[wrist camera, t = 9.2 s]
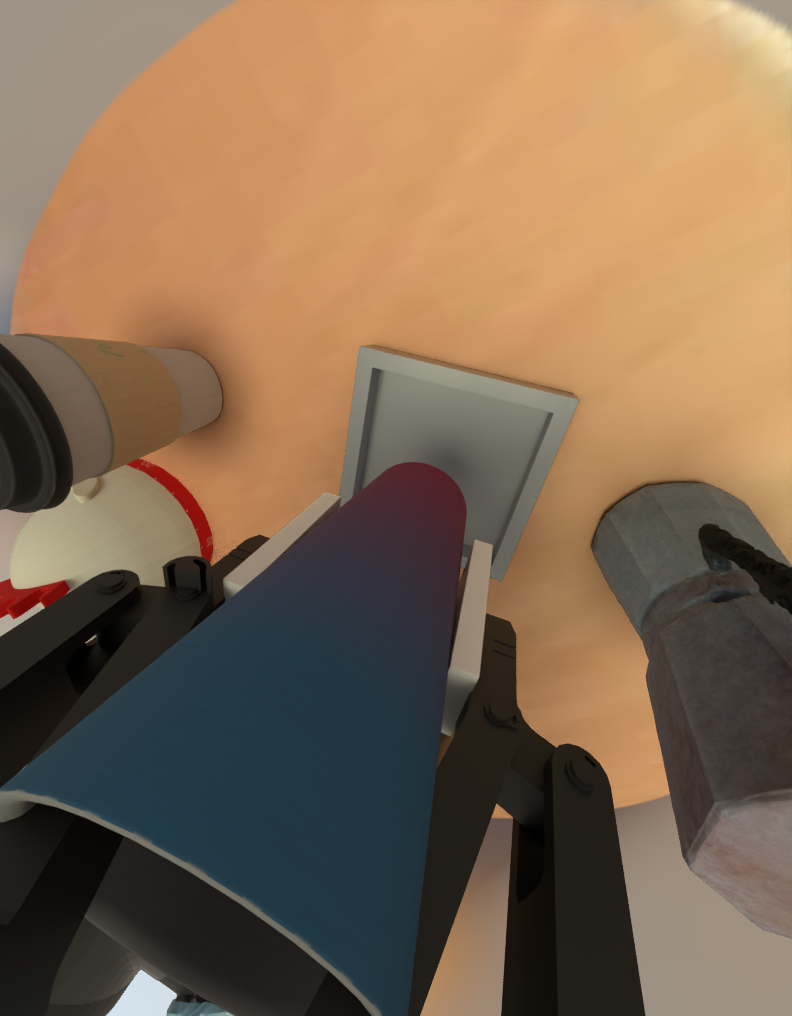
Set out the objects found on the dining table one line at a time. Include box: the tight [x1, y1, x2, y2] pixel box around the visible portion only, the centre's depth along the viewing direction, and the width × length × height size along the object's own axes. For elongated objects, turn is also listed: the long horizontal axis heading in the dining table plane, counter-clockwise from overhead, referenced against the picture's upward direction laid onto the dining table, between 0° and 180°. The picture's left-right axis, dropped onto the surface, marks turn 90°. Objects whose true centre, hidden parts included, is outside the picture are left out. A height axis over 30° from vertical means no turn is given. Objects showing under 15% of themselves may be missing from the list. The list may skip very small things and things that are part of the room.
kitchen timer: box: [0, 459, 213, 619], centre depth 31 cm, size 14×14×15 cm
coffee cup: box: [0, 333, 223, 513], centre depth 23 cm, size 9×9×15 cm
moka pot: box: [591, 482, 792, 939], centre depth 16 cm, size 10×15×20 cm, turn 32°
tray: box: [340, 345, 579, 581], centre depth 25 cm, size 13×13×2 cm
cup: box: [0, 462, 467, 1016], centre depth 12 cm, size 7×7×15 cm
